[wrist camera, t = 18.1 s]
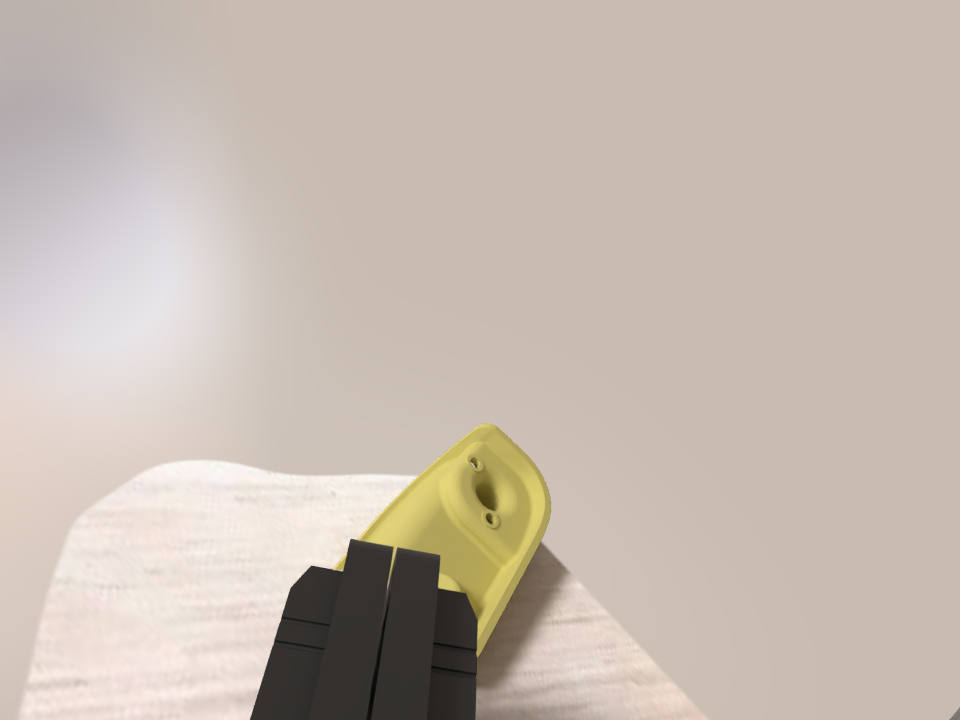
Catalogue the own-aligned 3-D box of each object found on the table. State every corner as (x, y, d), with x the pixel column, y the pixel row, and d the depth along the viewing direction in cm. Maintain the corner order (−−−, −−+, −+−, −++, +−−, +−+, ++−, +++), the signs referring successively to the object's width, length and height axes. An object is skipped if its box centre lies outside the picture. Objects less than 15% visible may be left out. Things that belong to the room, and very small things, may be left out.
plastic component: (464, 683, 47) (346, 569, 46) (403, 718, 51) (294, 614, 51) (567, 493, 63) (478, 408, 62) (513, 532, 67) (430, 453, 67)
